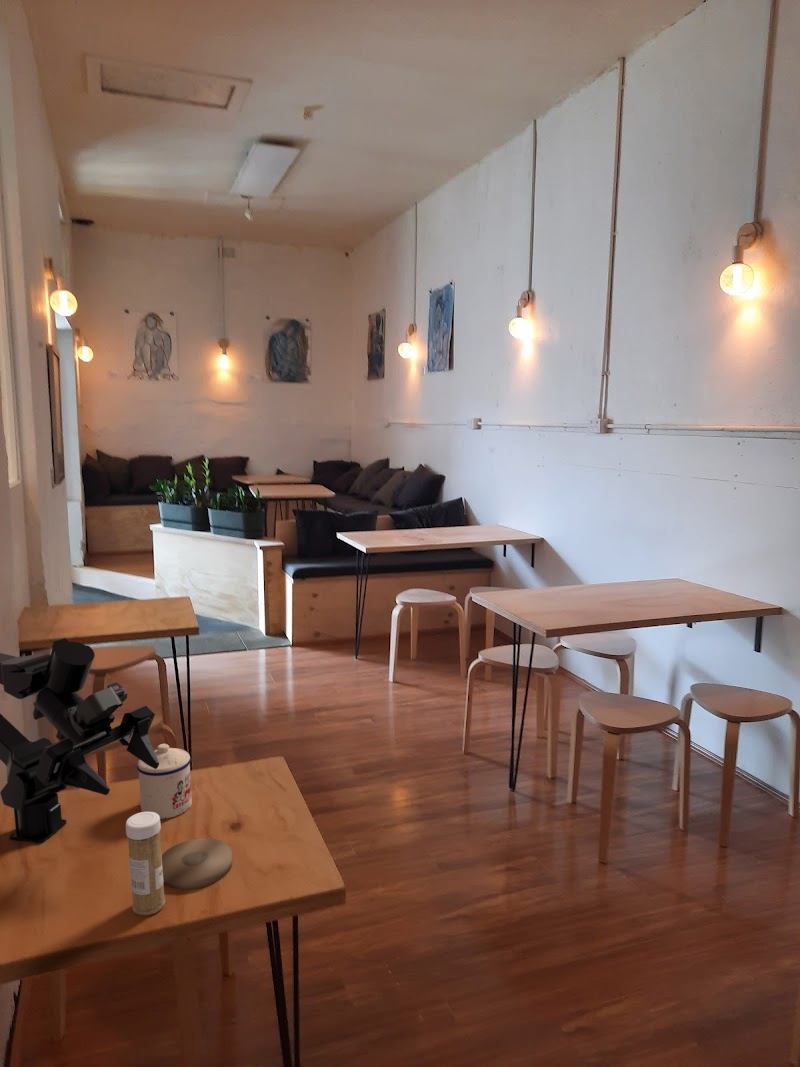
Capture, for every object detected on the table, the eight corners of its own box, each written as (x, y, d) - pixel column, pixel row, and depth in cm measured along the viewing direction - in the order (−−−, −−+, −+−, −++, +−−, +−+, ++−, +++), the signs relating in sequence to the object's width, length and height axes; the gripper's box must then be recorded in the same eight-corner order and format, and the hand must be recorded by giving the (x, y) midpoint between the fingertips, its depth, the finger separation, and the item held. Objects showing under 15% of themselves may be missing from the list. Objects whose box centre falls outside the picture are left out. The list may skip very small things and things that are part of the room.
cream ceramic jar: (182, 821, 129) (178, 757, 128) (131, 820, 130) (126, 756, 128) (205, 787, 141) (202, 728, 139) (158, 786, 142) (154, 727, 140)
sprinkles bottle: (172, 905, 107) (166, 817, 105) (143, 921, 104) (136, 831, 102) (154, 892, 110) (148, 806, 108) (125, 907, 107) (118, 819, 105)
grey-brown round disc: (144, 884, 112) (143, 875, 112) (181, 843, 123) (180, 835, 123) (212, 893, 110) (211, 884, 109) (243, 851, 120) (243, 842, 120)
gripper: (26, 694, 107) (95, 765, 101) (132, 657, 123) (196, 717, 117) (9, 751, 111) (74, 822, 106) (113, 708, 127) (174, 768, 122)
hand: (133, 779), depth 113 cm, fingers open, 9 cm apart
